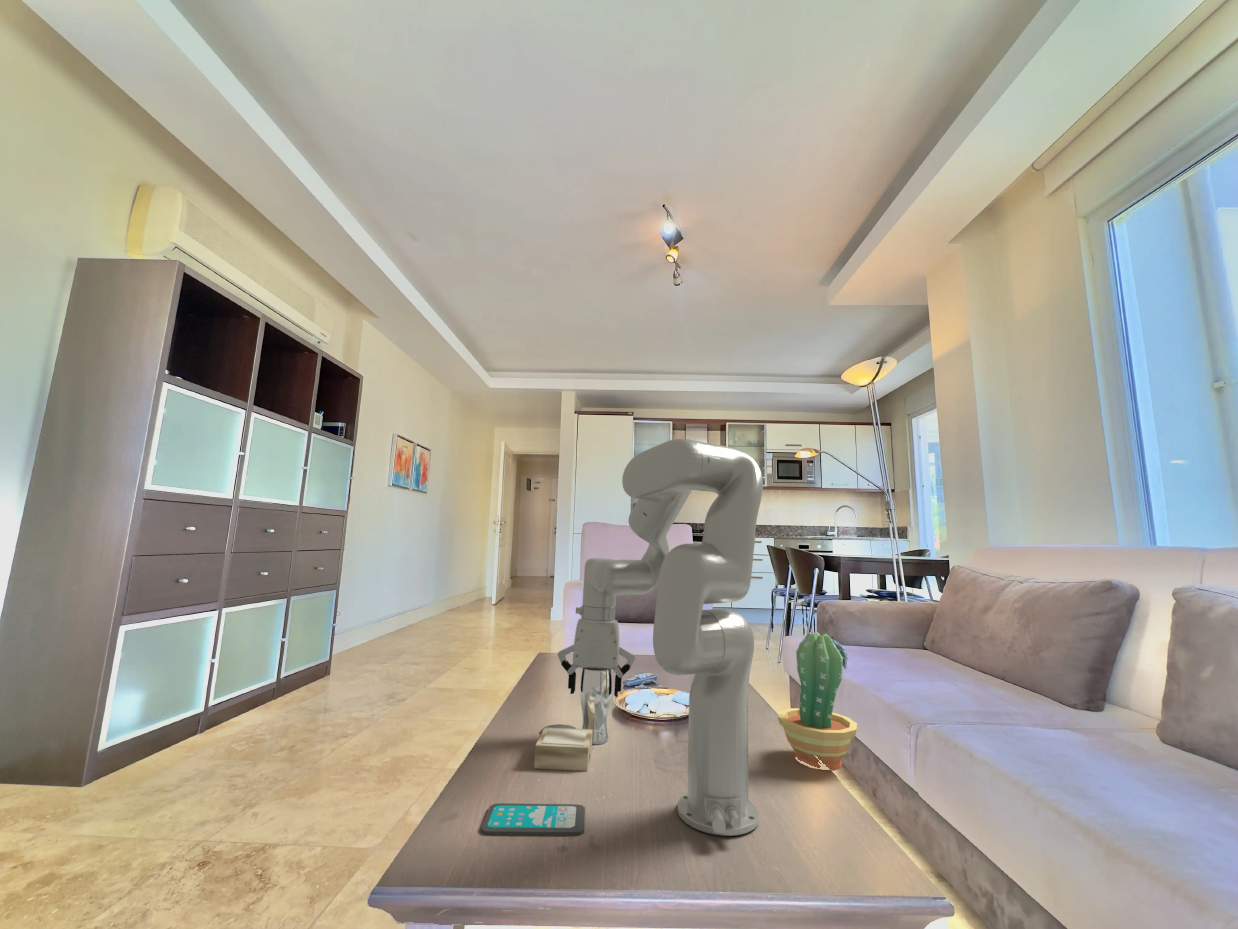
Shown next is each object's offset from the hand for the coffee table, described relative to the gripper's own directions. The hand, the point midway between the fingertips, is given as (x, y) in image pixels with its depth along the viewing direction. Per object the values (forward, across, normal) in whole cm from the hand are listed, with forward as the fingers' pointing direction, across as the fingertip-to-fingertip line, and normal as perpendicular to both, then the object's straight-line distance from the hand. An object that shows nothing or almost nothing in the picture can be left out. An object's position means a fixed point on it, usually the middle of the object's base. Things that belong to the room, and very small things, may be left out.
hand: (594, 693), depth 114 cm
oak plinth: (+9, -4, -12) cm, 15 cm away
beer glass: (+10, 0, -1) cm, 10 cm away
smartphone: (+9, -6, -35) cm, 37 cm away
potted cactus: (+9, +46, -7) cm, 48 cm away
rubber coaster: (+10, -8, +2) cm, 12 cm away
